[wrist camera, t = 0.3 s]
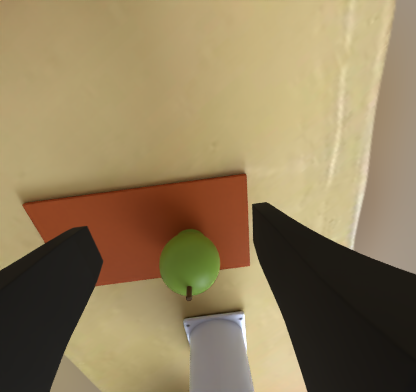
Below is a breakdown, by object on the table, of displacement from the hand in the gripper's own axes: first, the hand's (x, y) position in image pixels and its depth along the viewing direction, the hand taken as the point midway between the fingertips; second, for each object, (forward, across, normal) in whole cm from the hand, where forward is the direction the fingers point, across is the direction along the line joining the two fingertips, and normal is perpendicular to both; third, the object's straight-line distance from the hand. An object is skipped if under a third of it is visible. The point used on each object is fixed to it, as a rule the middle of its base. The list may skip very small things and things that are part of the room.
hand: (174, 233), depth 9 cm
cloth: (+10, +5, +7) cm, 13 cm away
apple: (+10, +1, +8) cm, 13 cm away
